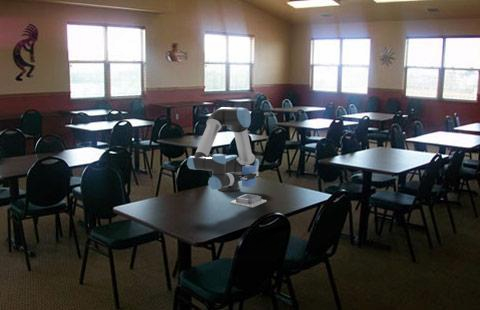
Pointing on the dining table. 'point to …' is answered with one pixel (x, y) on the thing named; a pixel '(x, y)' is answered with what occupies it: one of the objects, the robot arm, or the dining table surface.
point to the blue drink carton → (248, 170)
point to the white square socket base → (248, 200)
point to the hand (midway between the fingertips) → (254, 173)
